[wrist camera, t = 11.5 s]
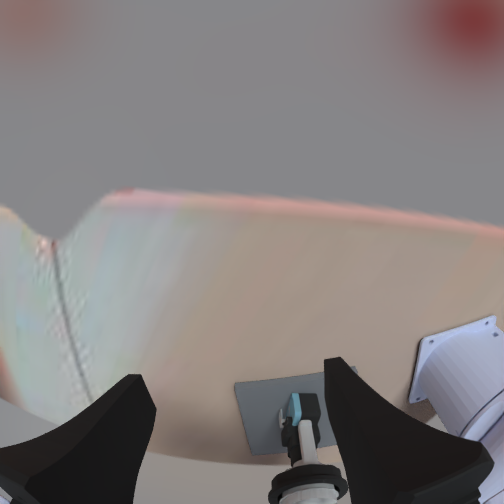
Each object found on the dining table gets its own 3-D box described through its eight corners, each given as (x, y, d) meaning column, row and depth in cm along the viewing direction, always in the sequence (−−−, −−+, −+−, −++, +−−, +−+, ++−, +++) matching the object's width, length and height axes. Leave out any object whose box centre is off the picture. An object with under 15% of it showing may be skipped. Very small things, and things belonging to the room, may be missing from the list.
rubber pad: (354, 366, 22) (357, 371, 22) (348, 436, 25) (350, 441, 24) (235, 382, 23) (234, 389, 22) (252, 449, 26) (252, 455, 25)
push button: (315, 437, 24) (331, 523, 14) (260, 436, 24) (261, 526, 14) (333, 388, 22) (362, 487, 13) (270, 387, 22) (275, 493, 12)
